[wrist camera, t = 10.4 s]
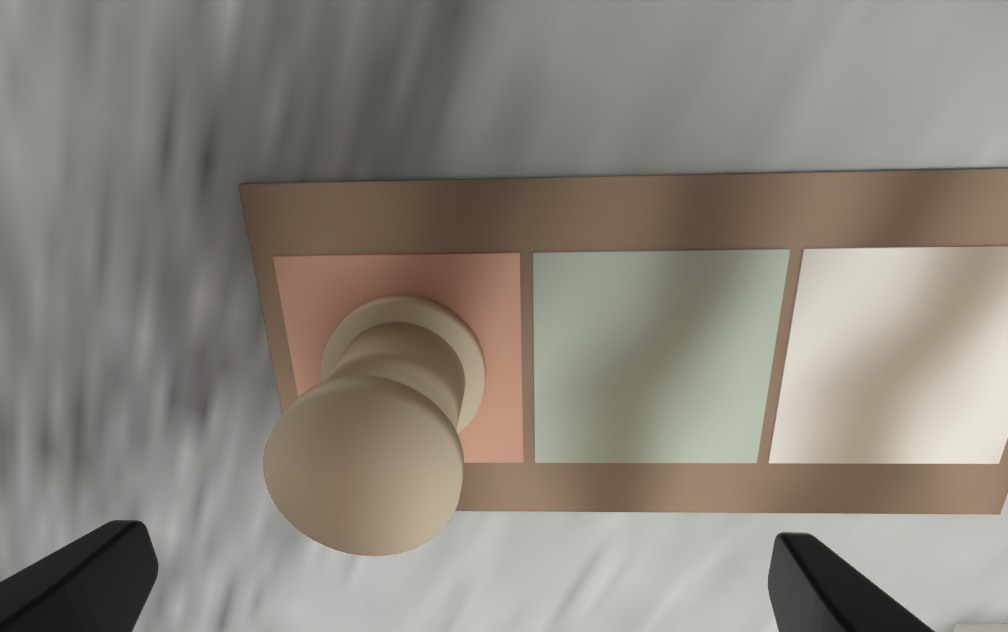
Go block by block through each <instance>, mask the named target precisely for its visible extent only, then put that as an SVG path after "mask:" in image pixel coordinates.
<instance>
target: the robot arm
mask: <svg viewBox="0 0 1008 632" xmlns="http://www.w3.org/2000/svg"><path fill="white" fill-rule="evenodd" d="M157 574H158V560H157V557H156V554H155V551H154V548H153V545H152V542H151V539H150V536H149V533H148V530H147V528H146V526H145V525H144V524H143V523H142V522H141V521H137V520H114V521H110V522H108V523H106V524H104V525H103V526H101V527H99V528H97V529H95V530H93V531H92V532H90V533H88V534H86V535H84V536H83V537H81V538H79V539H77V540H75V541H74V542H72V543H70V544H68V545H66V546H65V547H63V548H61V549H59V550H57V551H56V552H54V553H52V554H50V555H48V556H47V557H45V558H43V559H41V560H39V561H38V562H36V563H34V564H32V565H30V566H28V567H27V568H25V569H23V570H21V571H19V572H18V573H16V574H14V575H12V576H10V577H9V578H7V579H5V580H3V581H1V582H0V632H132V631H133V629H134V626H135V624H136V622H137V620H138V618H139V616H140V614H141V611H142V609H143V607H144V605H145V603H146V601H147V598H148V596H149V594H150V592H151V590H152V588H153V586H154V583H155V581H156V578H157ZM768 590H769V596H770V600H771V603H772V607H773V611H774V615H775V619H776V622H777V626H778V630H779V632H935V631H933V630H932V629H931V628H930V627H928V626H927V625H926V624H925V623H923V622H922V621H921V620H919V619H918V618H917V617H916V616H914V615H913V614H912V613H911V612H909V611H908V610H907V609H906V608H904V607H903V606H902V605H900V604H899V603H898V602H897V601H895V600H894V599H893V598H892V597H890V596H889V595H888V594H887V593H885V592H884V591H883V590H881V589H880V588H879V587H878V586H876V585H875V584H874V583H873V582H871V581H870V580H869V579H868V578H866V577H865V576H864V575H862V574H861V573H860V572H859V571H857V570H856V569H855V568H854V567H852V566H851V565H850V564H849V563H847V562H846V561H845V560H843V559H842V558H841V557H840V556H838V555H837V554H836V553H835V552H833V551H832V550H831V549H830V548H828V547H827V546H826V545H824V544H823V543H822V542H821V541H819V540H818V539H817V538H816V537H814V536H813V535H811V534H808V533H792V532H783V533H780V534H778V535H777V537H776V539H775V542H774V547H773V553H772V558H771V564H770V569H769V575H768Z"/></svg>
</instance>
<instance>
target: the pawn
mask: <svg viewBox="0 0 1008 632" xmlns="http://www.w3.org/2000/svg"><path fill="white" fill-rule="evenodd" d="M321 377H322V383H320V384H318V385H316V386H313V387H311V388H310V389H308V390H307V391H305V392H304V393H302V394H301V395H300V396H299V397H298V398H297V399H296V400H295V401H294V402H293V403H292V404H291V405H290V407H289V408H288V409H287V410H286V412H285V413H284V415H283V416H282V418H281V419H280V420H279V422H278V423H277V425H276V426H275V428H274V429H273V431H272V433H271V435H270V436H269V439H268V442H267V444H266V447H265V452H264V461H263V469H264V477H265V481H266V485H267V488H268V491H269V493H270V495H271V497H272V499H273V501H274V503H275V504H276V506H277V507H278V509H279V510H280V512H281V513H282V514H283V515H284V517H285V518H286V519H287V520H288V521H289V522H290V523H291V524H292V525H293V526H294V527H296V528H297V529H298V530H299V531H301V532H302V533H303V534H305V535H306V536H308V537H310V538H311V539H313V540H314V541H316V542H319V543H321V544H323V545H325V546H327V547H330V548H332V549H335V550H338V551H342V552H346V553H350V554H356V555H365V556H385V555H392V554H397V553H401V552H405V551H408V550H411V549H414V548H416V547H419V546H420V545H422V544H424V543H426V542H428V541H429V540H430V539H432V538H433V537H435V536H436V535H437V534H438V533H439V532H440V531H441V530H442V529H443V528H444V527H445V526H446V525H447V523H448V522H449V521H450V519H451V518H452V516H453V514H454V512H455V510H456V507H457V505H458V502H459V497H460V492H461V486H462V480H463V474H464V454H463V448H462V444H461V441H460V438H459V436H458V433H459V432H461V431H462V430H463V429H464V428H465V427H466V426H467V425H468V424H469V423H470V422H471V420H472V419H473V417H474V416H475V414H476V412H477V410H478V409H479V406H480V403H481V401H482V397H483V391H484V385H485V378H486V365H485V358H484V354H483V350H482V347H481V345H480V343H479V340H478V339H477V337H476V335H475V334H474V332H473V331H472V329H471V328H470V327H469V325H468V324H467V323H466V322H465V321H464V320H463V319H462V318H461V317H460V316H459V315H457V314H456V313H455V312H453V311H452V310H451V309H449V308H447V307H446V306H444V305H442V304H440V303H438V302H435V301H433V300H430V299H427V298H424V297H419V296H414V295H402V294H399V295H388V296H383V297H378V298H375V299H373V300H370V301H368V302H366V303H364V304H362V305H360V306H358V307H357V308H355V309H354V310H353V311H351V312H350V313H349V314H348V315H347V316H346V317H345V318H344V319H343V321H342V322H341V323H340V324H339V326H338V327H337V328H336V330H335V331H334V333H333V334H332V335H331V337H330V339H329V341H328V342H327V344H326V347H325V350H324V352H323V357H322V362H321Z"/></svg>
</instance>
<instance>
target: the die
mask: <svg viewBox="0 0 1008 632" xmlns="http://www.w3.org/2000/svg"><path fill="white" fill-rule="evenodd" d="M953 632H1008V624H991V623H956V624H955V626H954V629H953Z"/></svg>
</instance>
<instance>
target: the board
mask: <svg viewBox="0 0 1008 632" xmlns="http://www.w3.org/2000/svg"><path fill="white" fill-rule="evenodd" d="M239 190H240V196H241V201H242V206H243V211H244V216H245V222H246V227H247V232H248V237H249V242H250V248H251V253H252V258H253V263H254V268H255V274H256V279H257V284H258V289H259V295H260V300H261V305H262V310H263V315H264V321H265V326H266V331H267V336H268V341H269V347H270V352H271V357H272V362H273V367H274V373H275V378H276V383H277V388H278V394H279V399H280V404H281V409H282V414H283V415H284V413H285V412H286V410H287V409H288V408H289V407H290V405H291V404H292V403H293V402H294V401H295V400H296V399H297V398H298V397H299V396H300V395H301V394H302V393H304V392H305V391H307V390H308V389H310V388H311V387H313V386H316V385H318V384H320V383H322V377H321V362H322V357H323V352H324V350H325V347H326V344H327V342H328V341H329V339H330V337H331V335H332V334H333V333H334V331H335V330H336V328H337V327H338V326H339V324H340V323H341V322H342V321H343V319H344V318H345V317H346V316H347V315H348V314H349V313H350V312H351V311H353V310H354V309H355V308H357V307H358V306H360V305H362V304H364V303H366V302H368V301H370V300H373V299H375V298H378V297H383V296H388V295H399V294H402V295H414V296H419V297H424V298H427V299H430V300H433V301H435V302H438V303H440V304H442V305H444V306H446V307H447V308H449V309H451V310H452V311H453V312H455V313H456V314H457V315H459V316H460V317H461V318H462V319H463V320H464V321H465V322H466V323H467V324H468V325H469V327H470V328H471V329H472V331H473V332H474V334H475V335H476V337H477V339H478V340H479V343H480V345H481V347H482V350H483V354H484V358H485V365H486V378H485V385H484V391H483V397H482V401H481V403H480V406H479V409H478V410H477V412H476V414H475V416H474V417H473V419H472V420H471V422H470V423H469V424H468V425H467V426H466V427H465V428H464V429H463V430H462V431H461V432H459V433H458V436H459V438H460V441H461V444H462V448H463V454H464V474H463V480H462V486H461V492H460V497H459V502H458V505H457V507H456V510H455V511H551V512H710V513H869V514H1000V513H1001V510H1002V507H1003V504H1004V502H1005V499H1006V496H1007V493H1008V168H980V169H932V170H883V171H834V172H785V173H736V174H687V175H638V176H589V177H541V178H492V179H443V180H394V181H345V182H296V183H247V184H239Z"/></svg>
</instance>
